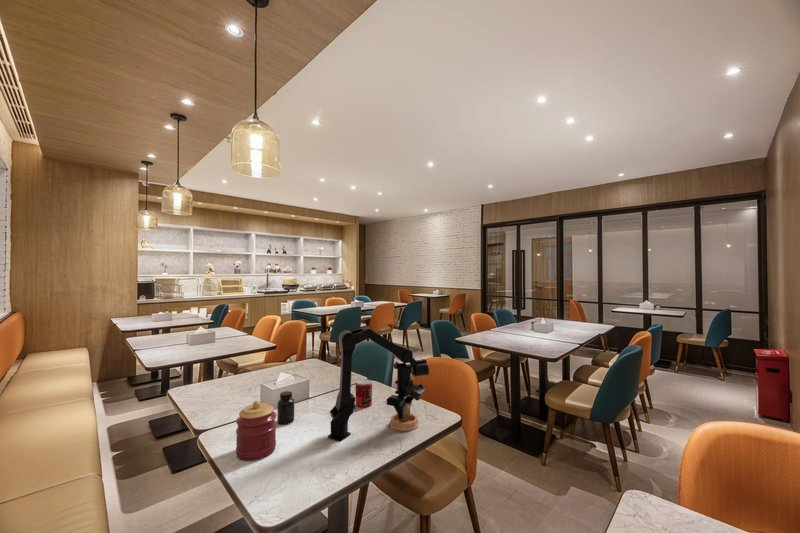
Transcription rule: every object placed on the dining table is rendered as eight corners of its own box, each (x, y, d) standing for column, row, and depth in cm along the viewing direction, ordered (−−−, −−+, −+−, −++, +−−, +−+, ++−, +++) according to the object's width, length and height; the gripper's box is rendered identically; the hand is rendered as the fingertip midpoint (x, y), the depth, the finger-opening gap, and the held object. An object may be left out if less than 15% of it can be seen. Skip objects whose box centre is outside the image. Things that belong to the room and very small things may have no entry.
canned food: (364, 409, 154) (364, 385, 154) (352, 405, 159) (352, 381, 159) (375, 404, 160) (375, 381, 160) (363, 400, 165) (363, 378, 165)
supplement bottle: (273, 423, 140) (273, 394, 140) (286, 417, 146) (286, 389, 146) (285, 426, 137) (285, 396, 137) (297, 420, 143) (298, 391, 143)
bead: (406, 422, 135) (406, 407, 135) (396, 420, 137) (396, 405, 137) (412, 418, 139) (412, 403, 139) (401, 415, 142) (401, 401, 142)
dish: (410, 433, 130) (410, 426, 130) (384, 426, 136) (384, 420, 136) (423, 421, 140) (423, 415, 141) (398, 416, 146) (398, 410, 146)
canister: (264, 439, 126) (264, 391, 127) (283, 450, 118) (283, 399, 119) (228, 453, 116) (229, 402, 117) (246, 466, 108) (247, 411, 108)
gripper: (410, 387, 127) (410, 429, 126) (431, 375, 143) (431, 412, 142) (385, 383, 132) (385, 423, 132) (408, 371, 148) (408, 407, 148)
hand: (404, 416), depth 138 cm, fingers closed on bead, 5 cm apart
